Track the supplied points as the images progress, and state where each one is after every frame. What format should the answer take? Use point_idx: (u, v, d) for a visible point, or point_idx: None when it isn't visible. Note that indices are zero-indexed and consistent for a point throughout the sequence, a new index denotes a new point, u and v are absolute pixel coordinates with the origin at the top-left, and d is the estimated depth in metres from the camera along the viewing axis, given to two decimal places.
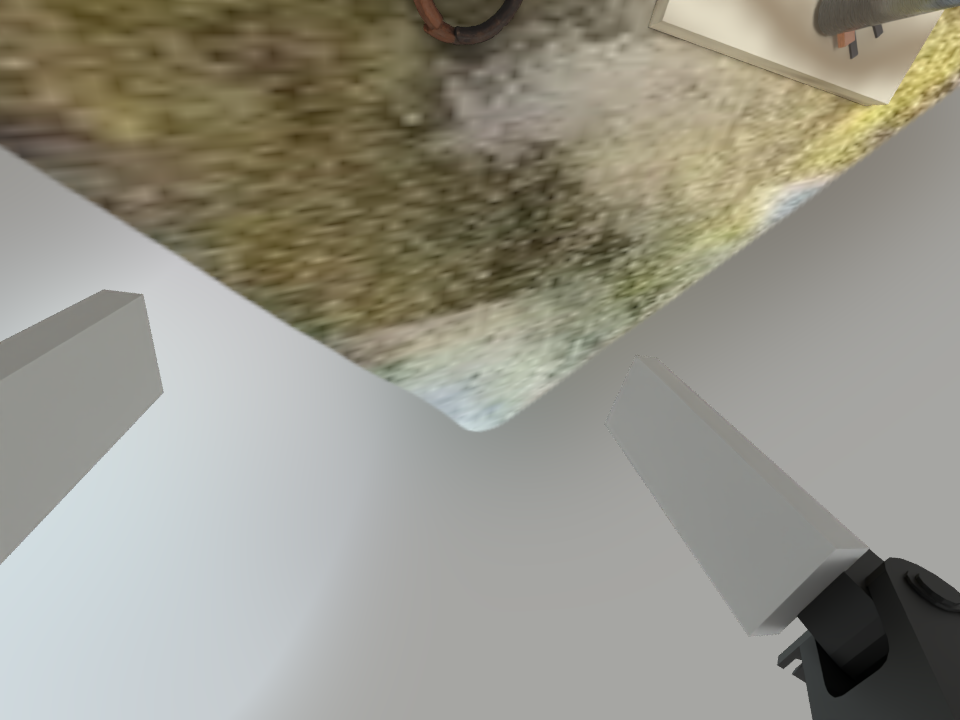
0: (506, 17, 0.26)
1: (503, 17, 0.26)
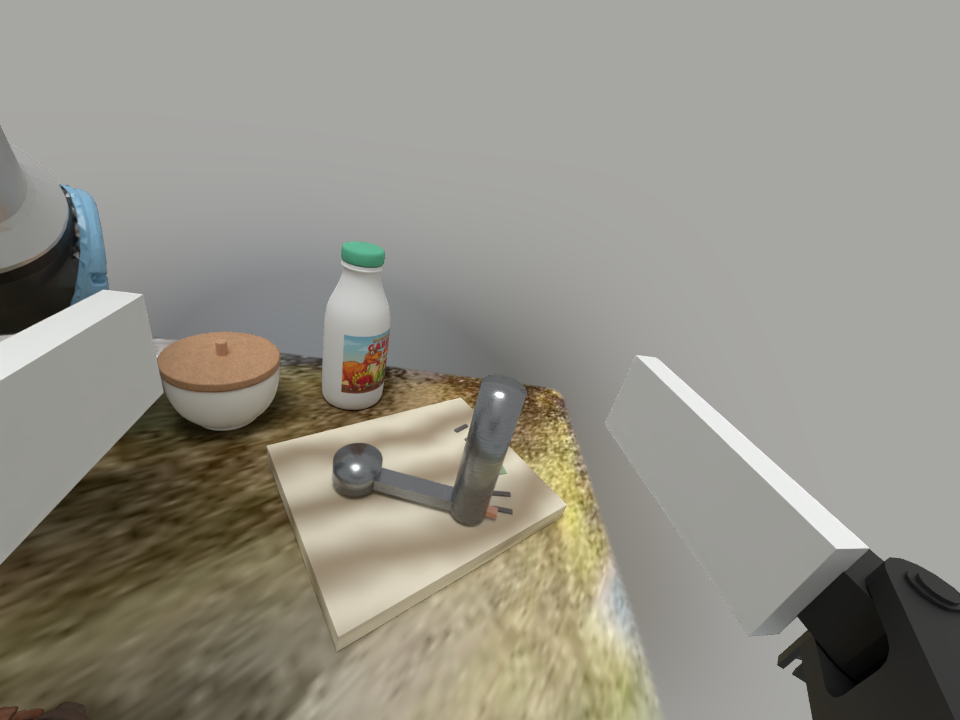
0: None
1: None
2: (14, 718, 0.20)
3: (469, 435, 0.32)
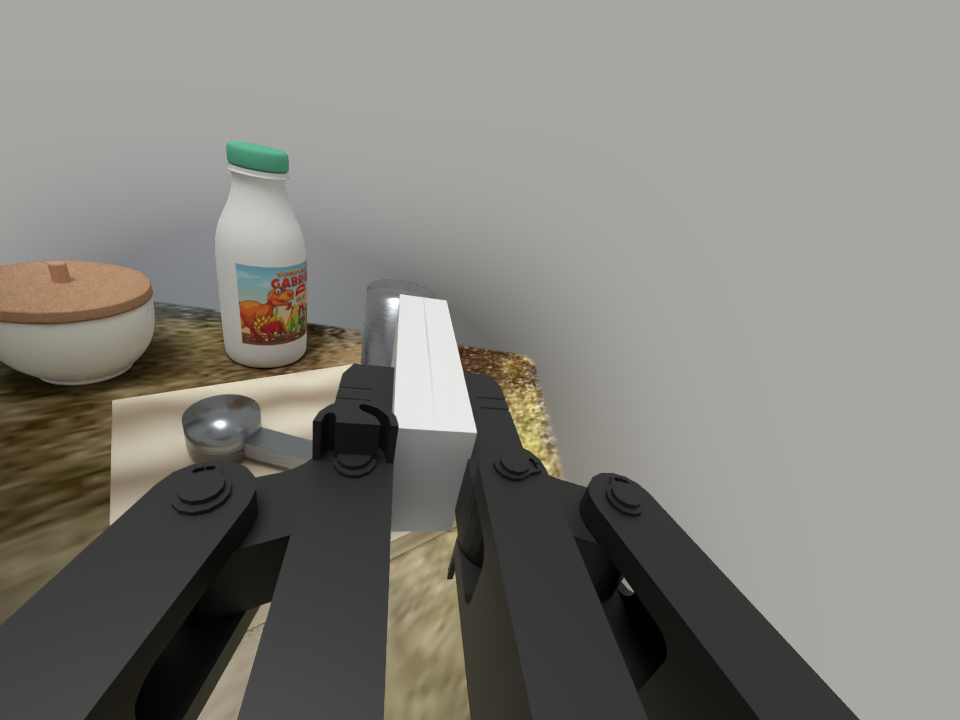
0: None
1: None
2: None
3: None
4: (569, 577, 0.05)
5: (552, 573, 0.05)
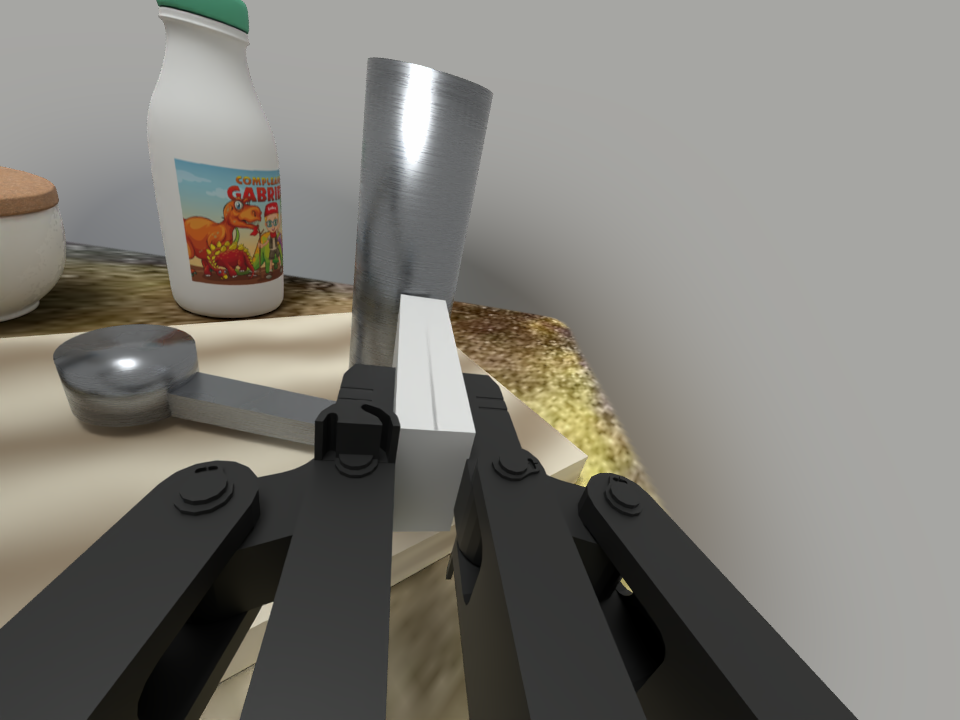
0: None
1: None
2: None
3: None
4: (567, 577, 0.05)
5: (550, 573, 0.05)
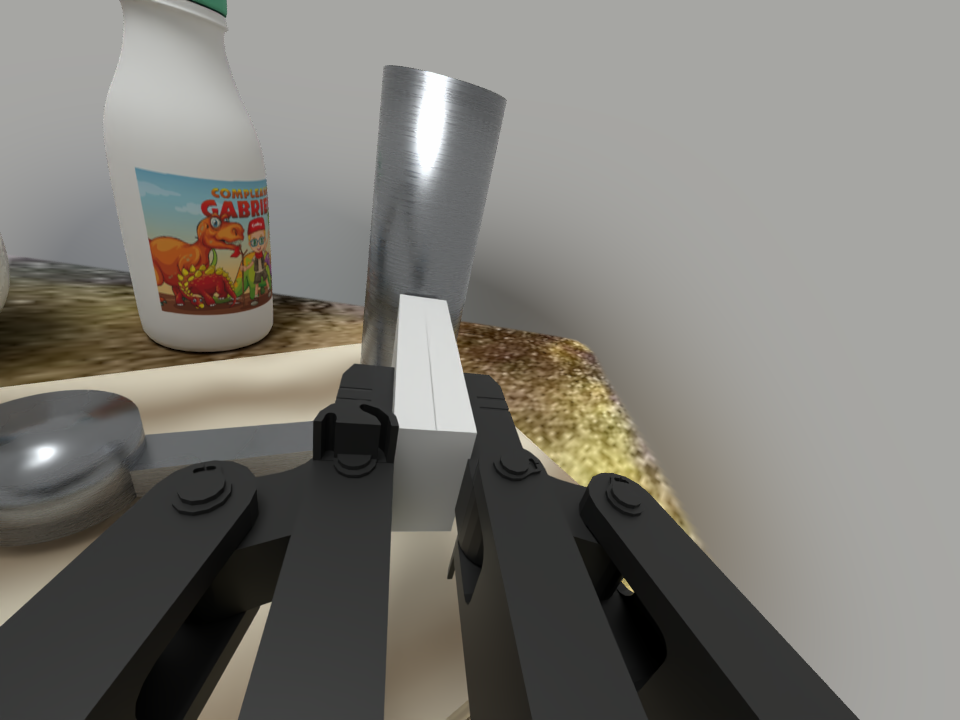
0: None
1: None
2: None
3: (379, 253, 0.12)
4: (569, 577, 0.05)
5: (552, 573, 0.05)
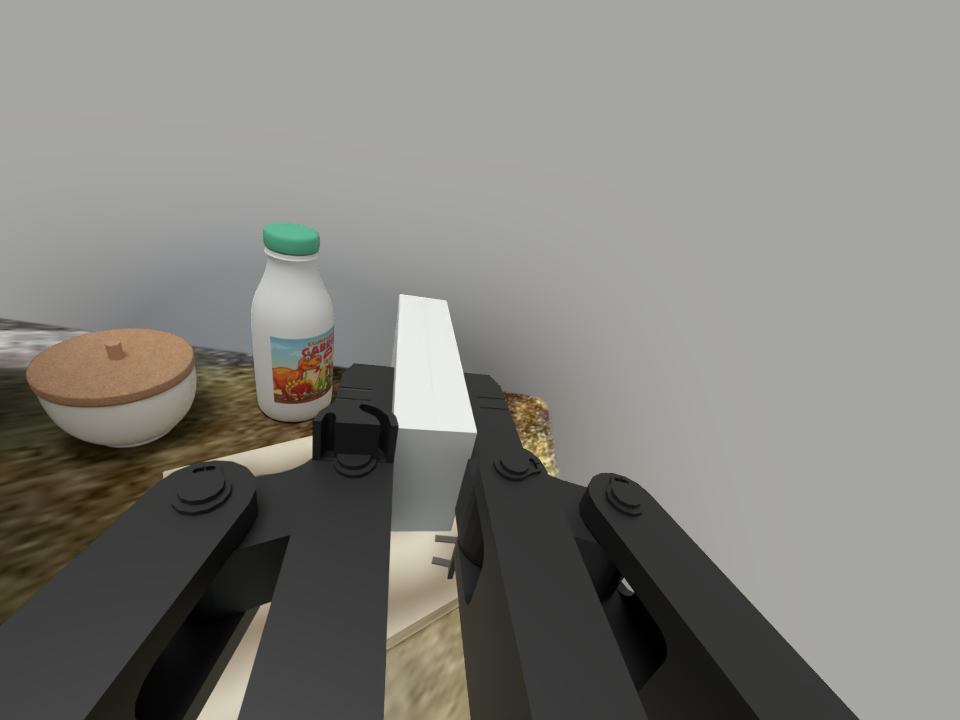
0: None
1: None
2: None
3: None
4: (569, 577, 0.05)
5: (552, 573, 0.05)
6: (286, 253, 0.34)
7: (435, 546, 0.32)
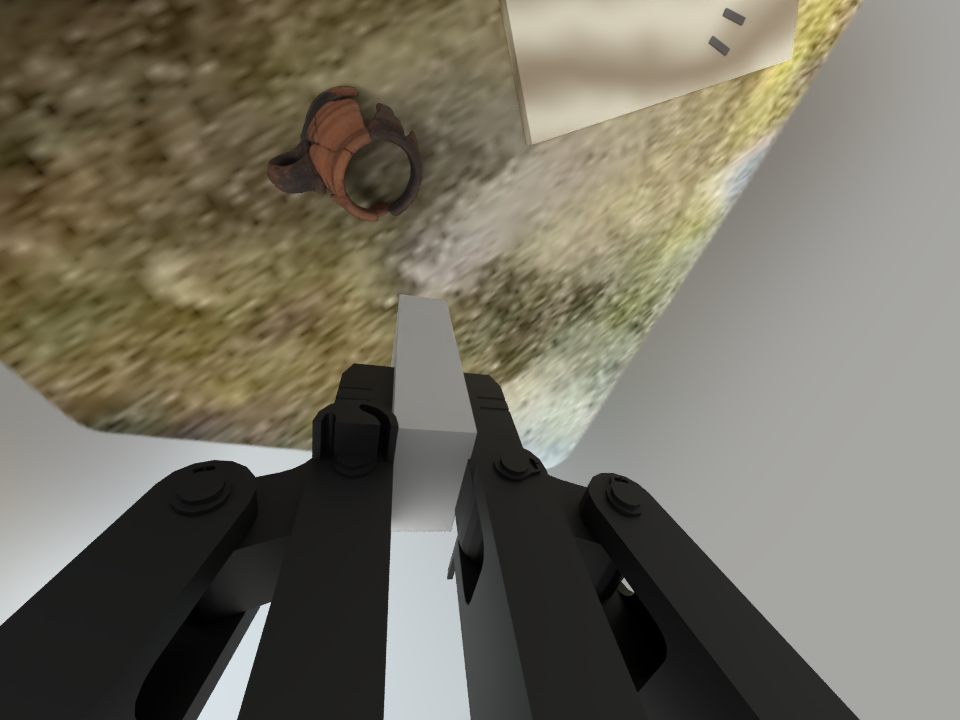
0: (417, 181, 0.32)
1: (415, 183, 0.32)
2: (345, 93, 0.30)
3: None
4: (569, 577, 0.05)
5: (552, 573, 0.05)
6: None
7: (719, 22, 0.32)
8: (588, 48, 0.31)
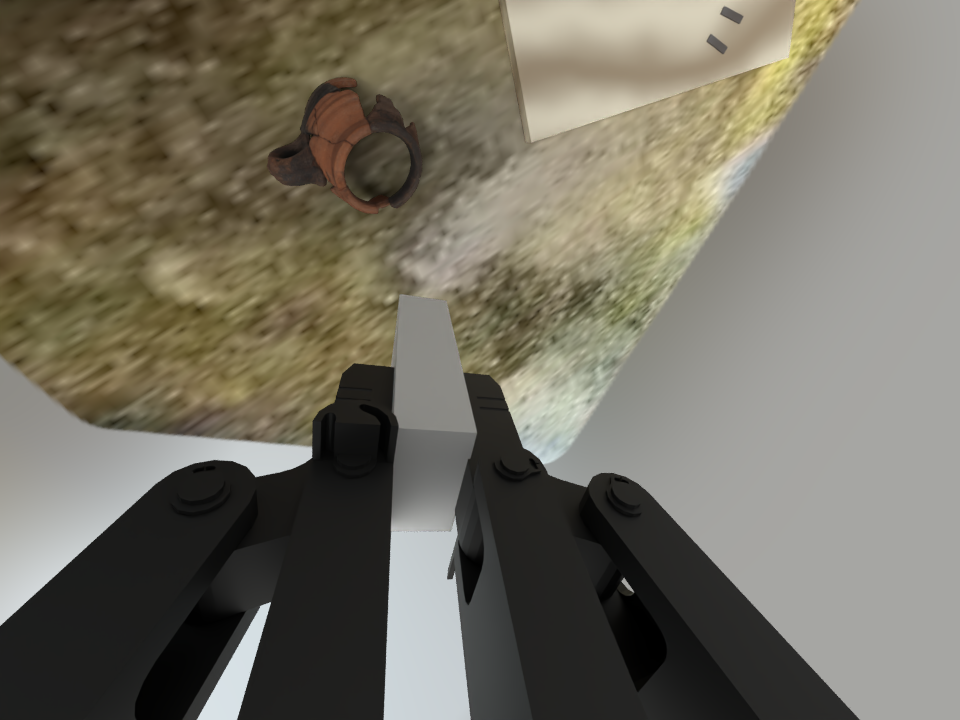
0: (417, 173, 0.32)
1: (415, 175, 0.32)
2: (344, 84, 0.30)
3: None
4: (569, 577, 0.05)
5: (552, 573, 0.05)
6: None
7: (717, 21, 0.32)
8: (587, 46, 0.32)
